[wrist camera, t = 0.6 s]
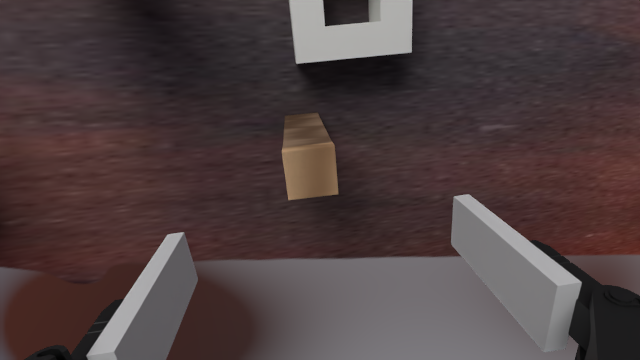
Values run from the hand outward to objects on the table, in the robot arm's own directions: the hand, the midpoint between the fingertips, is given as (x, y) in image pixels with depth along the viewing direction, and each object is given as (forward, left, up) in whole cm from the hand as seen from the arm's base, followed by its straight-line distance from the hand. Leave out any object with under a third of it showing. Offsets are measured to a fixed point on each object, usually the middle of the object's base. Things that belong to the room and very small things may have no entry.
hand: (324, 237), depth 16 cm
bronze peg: (0, -1, -26) cm, 27 cm away
